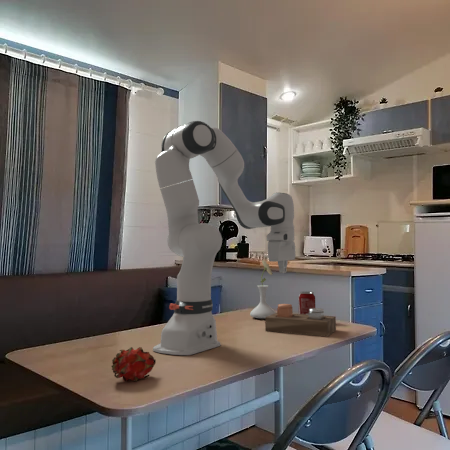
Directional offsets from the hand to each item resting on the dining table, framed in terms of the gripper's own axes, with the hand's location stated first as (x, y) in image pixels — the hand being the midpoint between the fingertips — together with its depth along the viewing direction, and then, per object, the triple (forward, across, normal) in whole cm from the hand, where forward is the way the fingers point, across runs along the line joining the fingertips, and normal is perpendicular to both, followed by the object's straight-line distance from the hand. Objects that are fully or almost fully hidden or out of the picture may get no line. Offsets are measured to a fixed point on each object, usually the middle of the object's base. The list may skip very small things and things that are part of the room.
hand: (282, 272), depth 167 cm
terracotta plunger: (+19, 0, +1) cm, 19 cm away
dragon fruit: (+22, +72, -12) cm, 76 cm away
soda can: (+21, -18, +4) cm, 28 cm away
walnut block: (+21, 0, +7) cm, 22 cm away
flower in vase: (+21, -20, -16) cm, 34 cm away
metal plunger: (+20, 0, +13) cm, 23 cm away
